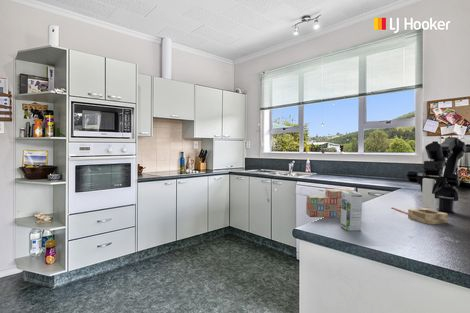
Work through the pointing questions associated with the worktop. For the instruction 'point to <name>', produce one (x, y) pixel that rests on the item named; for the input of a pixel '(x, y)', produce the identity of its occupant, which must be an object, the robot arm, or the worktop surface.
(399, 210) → the red square stick
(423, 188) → the white rectangular block
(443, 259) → the worktop surface
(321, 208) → the stack of blocks
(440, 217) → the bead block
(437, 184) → the robot arm
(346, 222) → the syrup box
